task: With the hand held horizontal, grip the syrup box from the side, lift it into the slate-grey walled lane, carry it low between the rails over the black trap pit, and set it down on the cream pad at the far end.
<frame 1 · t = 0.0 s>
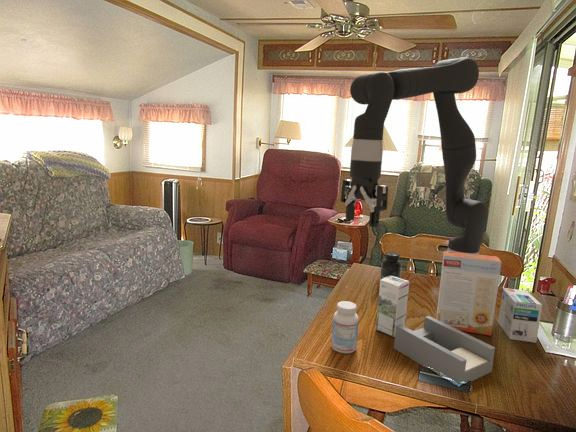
hand: (361, 223, 101), 29 cm above the table, tool pointing down, fingers open, 8 cm apart
supplement bottle: (389, 286, 141), on the table
light bulb box: (515, 333, 110), on the table
pill bottle: (343, 348, 98), on the table
cracker box: (461, 327, 111), on the table
trap lane: (440, 359, 94), on the table
syrup box: (389, 331, 107), on the table
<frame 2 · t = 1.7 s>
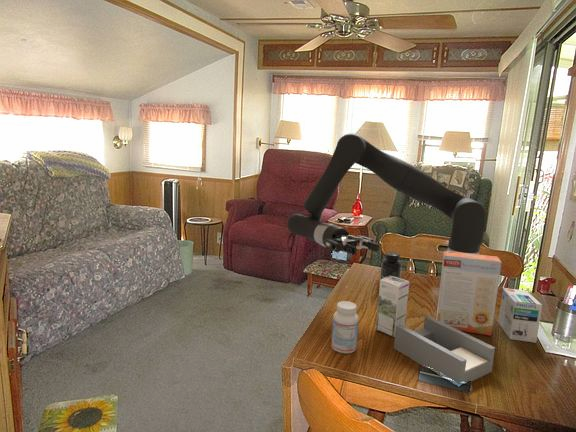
hand: (367, 249, 113), 20 cm above the table, tool horizontal, fingers open, 8 cm apart
nothing on the table moved.
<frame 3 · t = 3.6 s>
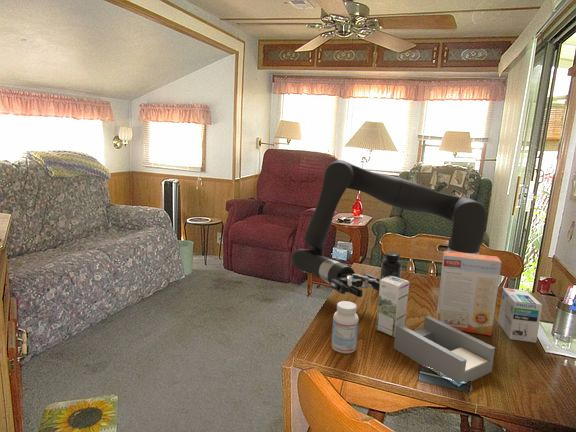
hand: (372, 291, 112), 8 cm above the table, tool horizontal, fingers open, 8 cm apart
nothing on the table moved.
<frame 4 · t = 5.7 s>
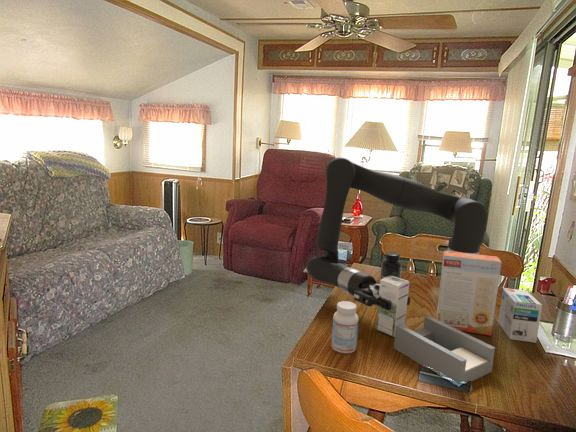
hand: (399, 304, 104), 9 cm above the table, tool horizontal, fingers closed on syrup box, 6 cm apart
syrup box: (389, 331, 107), on the table, touching gripper
everything else where it was.
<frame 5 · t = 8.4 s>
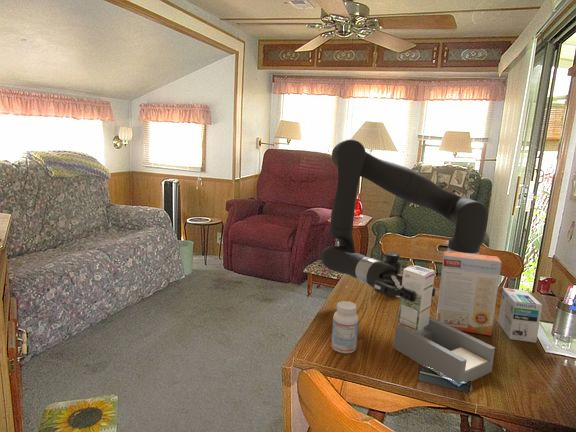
hand: (424, 295, 97), 14 cm above the table, tool horizontal, fingers closed on syrup box, 6 cm apart
syrup box: (412, 324, 100), point 5 cm above the table, touching gripper
everything else where it was.
when the fingers open (12 cm above the table, at t = 11.4 s): syrup box stays where it is, resting on trap lane.
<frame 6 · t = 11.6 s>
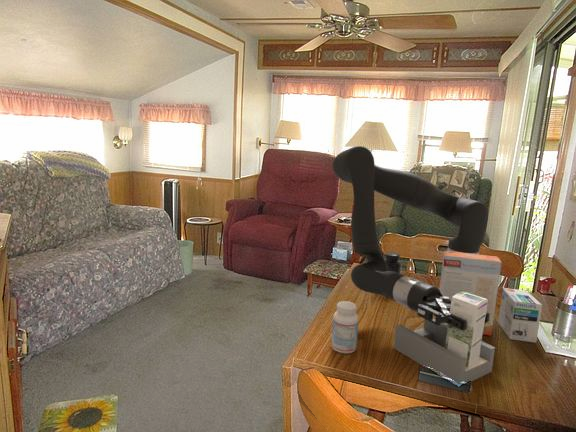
hand: (477, 322, 86), 13 cm above the table, tool horizontal, fingers open, 7 cm apart
syrup box: (461, 358, 89), point 3 cm above the table, touching trap lane
everything else where it was.
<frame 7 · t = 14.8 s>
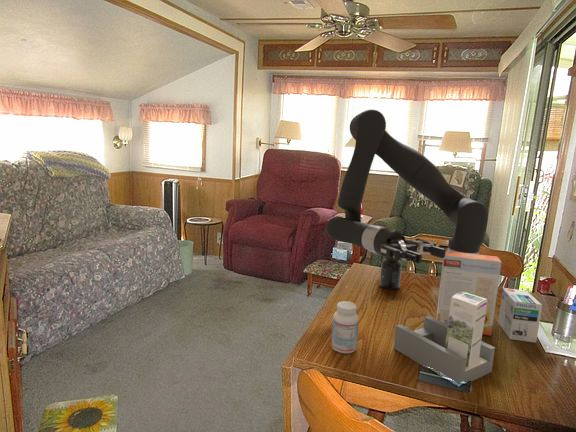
hand: (432, 256, 94), 24 cm above the table, tool horizontal, fingers open, 8 cm apart
nothing on the table moved.
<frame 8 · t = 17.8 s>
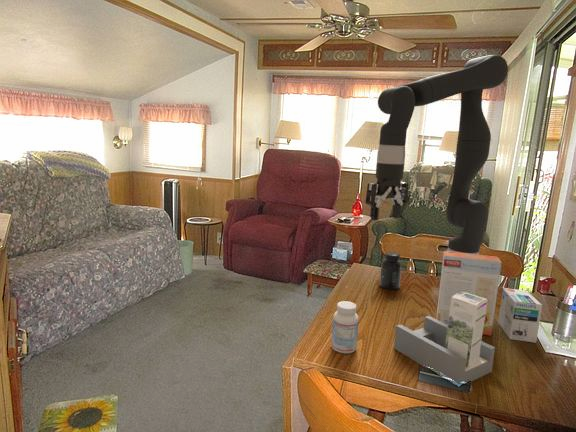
hand: (385, 218, 114), 28 cm above the table, tool pointing down, fingers open, 8 cm apart
nothing on the table moved.
at the end: syrup box inside the target area on the trap lane (0.4 cm from its centre), point 3.0 cm above the trap lane's base; syrup box tilted 0°; the gripper is holding nothing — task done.
